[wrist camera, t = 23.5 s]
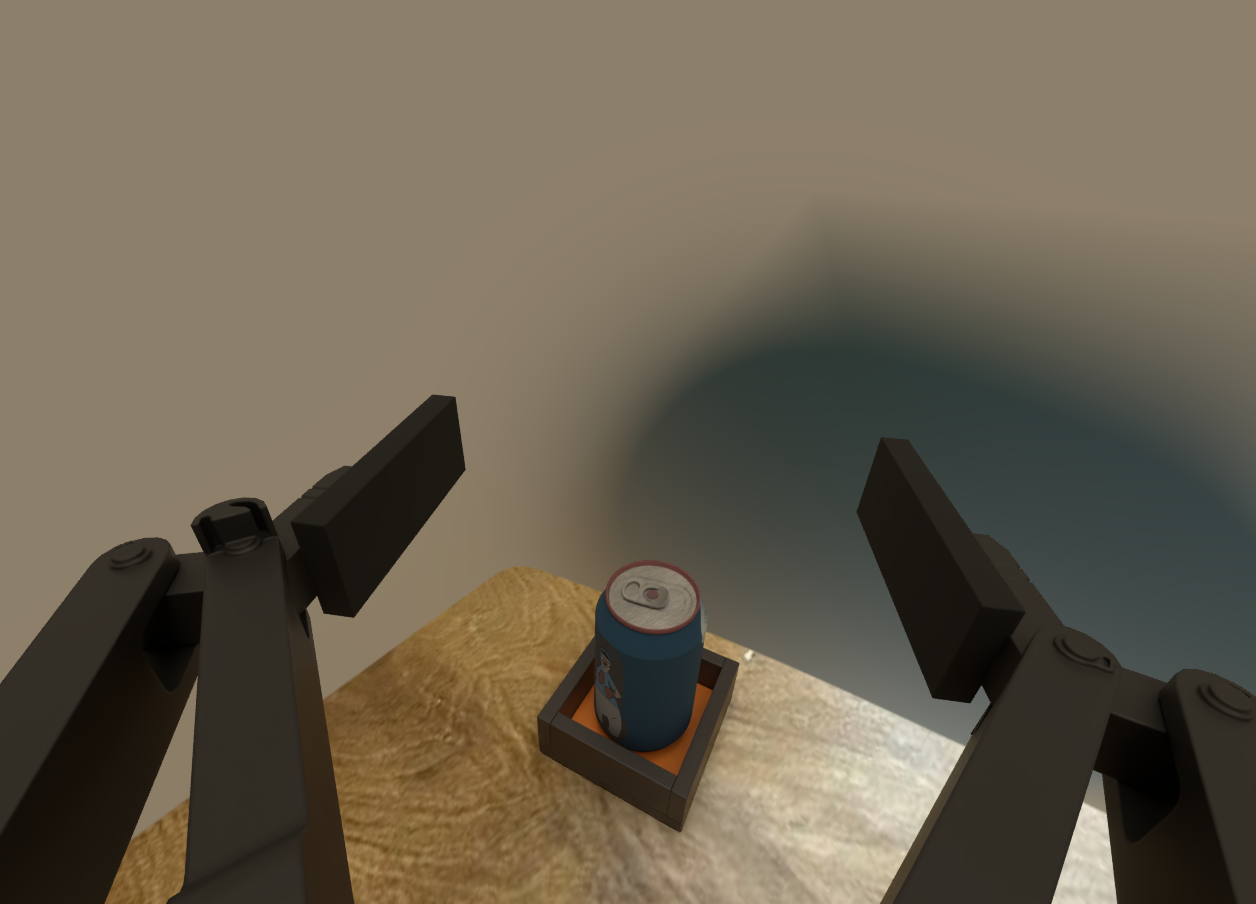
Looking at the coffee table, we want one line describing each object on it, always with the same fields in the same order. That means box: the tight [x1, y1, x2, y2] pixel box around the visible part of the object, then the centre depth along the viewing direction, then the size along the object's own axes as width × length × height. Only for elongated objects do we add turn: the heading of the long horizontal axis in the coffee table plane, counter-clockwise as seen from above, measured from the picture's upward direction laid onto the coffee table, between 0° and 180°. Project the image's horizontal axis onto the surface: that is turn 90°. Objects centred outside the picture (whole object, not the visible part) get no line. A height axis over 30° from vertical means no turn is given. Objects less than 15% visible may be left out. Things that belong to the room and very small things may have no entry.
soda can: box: [594, 560, 707, 752], centre depth 34 cm, size 7×7×12 cm
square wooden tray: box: [537, 636, 739, 832], centre depth 37 cm, size 10×10×4 cm
